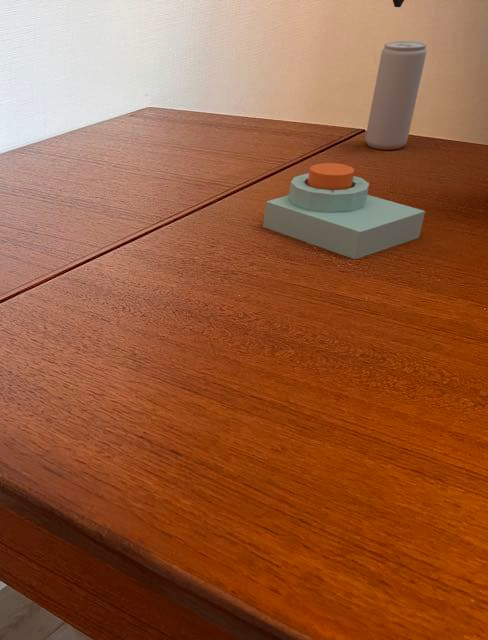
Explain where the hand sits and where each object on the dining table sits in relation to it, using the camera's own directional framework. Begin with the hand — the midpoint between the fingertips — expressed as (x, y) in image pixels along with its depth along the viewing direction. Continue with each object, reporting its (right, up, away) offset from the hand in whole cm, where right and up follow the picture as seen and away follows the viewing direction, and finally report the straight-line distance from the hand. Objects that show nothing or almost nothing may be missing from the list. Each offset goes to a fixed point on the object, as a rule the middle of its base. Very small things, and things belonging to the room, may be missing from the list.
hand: (449, 3), depth 106 cm
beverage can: (-7, -17, +3) cm, 18 cm away
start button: (-25, -28, -22) cm, 44 cm away
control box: (-24, -33, -22) cm, 46 cm away
